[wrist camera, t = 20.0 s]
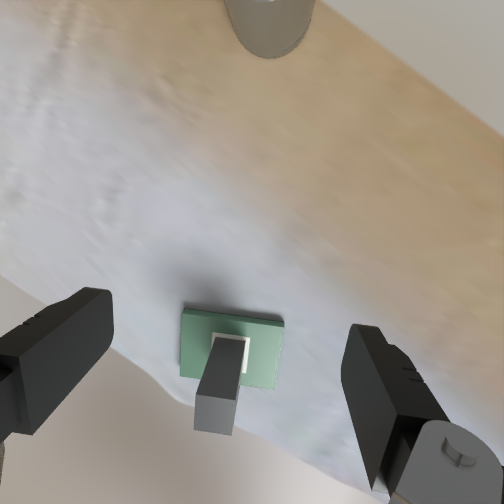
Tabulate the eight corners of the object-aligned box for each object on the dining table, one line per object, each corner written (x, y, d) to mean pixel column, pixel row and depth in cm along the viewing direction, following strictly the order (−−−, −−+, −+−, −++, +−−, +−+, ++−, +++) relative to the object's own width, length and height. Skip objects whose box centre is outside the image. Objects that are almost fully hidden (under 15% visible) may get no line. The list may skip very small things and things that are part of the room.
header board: (182, 370, 52) (171, 394, 46) (184, 308, 48) (173, 327, 43) (274, 383, 51) (274, 409, 46) (284, 322, 47) (285, 343, 42)
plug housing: (213, 365, 49) (193, 429, 37) (215, 336, 47) (195, 394, 36) (242, 370, 49) (231, 435, 37) (245, 340, 47) (235, 400, 36)
